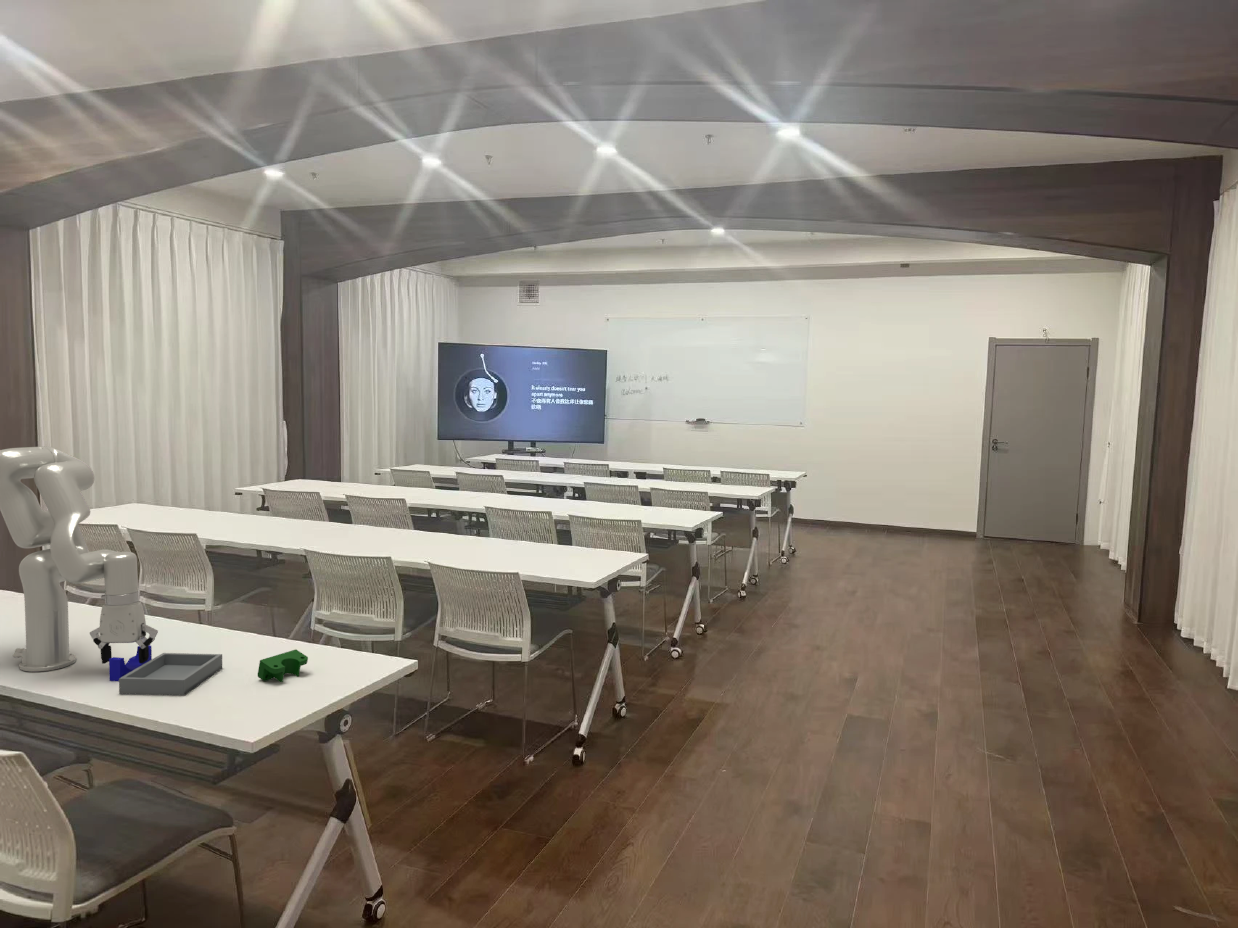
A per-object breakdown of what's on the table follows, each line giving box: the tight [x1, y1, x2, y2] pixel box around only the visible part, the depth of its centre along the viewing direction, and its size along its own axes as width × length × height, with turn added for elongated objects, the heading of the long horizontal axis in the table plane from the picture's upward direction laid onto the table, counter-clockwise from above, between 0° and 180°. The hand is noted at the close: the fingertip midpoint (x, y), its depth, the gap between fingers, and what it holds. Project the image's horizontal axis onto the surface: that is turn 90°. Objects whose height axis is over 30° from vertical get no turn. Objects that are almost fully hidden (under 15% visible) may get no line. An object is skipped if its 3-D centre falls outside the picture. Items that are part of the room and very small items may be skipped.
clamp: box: [257, 648, 309, 683], centre depth 212 cm, size 12×6×9 cm, turn 144°
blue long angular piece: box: [108, 644, 153, 683], centre depth 211 cm, size 12×4×6 cm, turn 174°
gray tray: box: [118, 652, 223, 697], centre depth 207 cm, size 16×20×4 cm
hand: (125, 661), depth 211 cm, fingers open, 9 cm apart
